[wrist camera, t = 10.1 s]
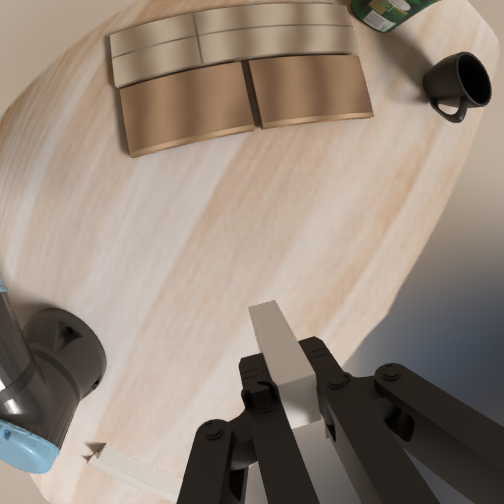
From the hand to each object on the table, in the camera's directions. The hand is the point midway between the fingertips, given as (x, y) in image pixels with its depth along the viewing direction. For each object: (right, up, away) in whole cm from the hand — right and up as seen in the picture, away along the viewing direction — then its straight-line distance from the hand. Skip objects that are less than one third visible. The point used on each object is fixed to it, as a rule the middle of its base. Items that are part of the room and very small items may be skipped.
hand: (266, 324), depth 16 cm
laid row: (-3, +32, +15) cm, 35 cm away
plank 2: (+7, +25, +18) cm, 31 cm away
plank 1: (-9, +21, +17) cm, 28 cm away
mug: (+27, +29, +20) cm, 44 cm away
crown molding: (-23, -48, +36) cm, 64 cm away
